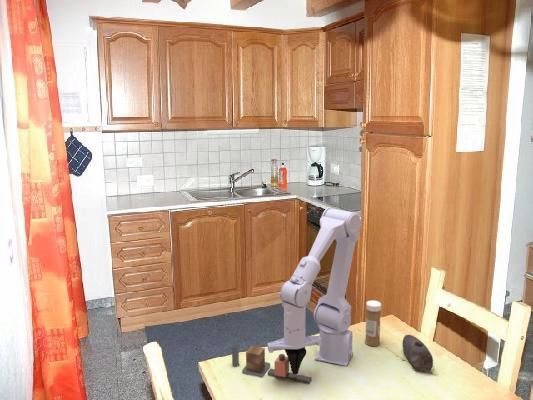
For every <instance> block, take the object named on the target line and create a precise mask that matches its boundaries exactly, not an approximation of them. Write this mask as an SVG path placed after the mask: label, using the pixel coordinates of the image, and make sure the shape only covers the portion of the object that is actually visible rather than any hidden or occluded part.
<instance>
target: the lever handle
mask: <svg viewBox="0 0 533 400" xmlns="http://www.w3.org/2000/svg"><path fill="white" fill-rule="evenodd" d="M285 355H286V354H284V353H280V354H278V356H277V358H275V360H274V369H275V375H277V376H281V377H285V376H286V375H287V373H288V372H290V362H289V359H288V356H285Z"/></svg>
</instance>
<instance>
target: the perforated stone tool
mask: <svg viewBox="0 0 533 400" xmlns="http://www.w3.org/2000/svg"><path fill="white" fill-rule="evenodd" d="M402 349H403V352H404V354H405V356H406V358H407V359H408V361H409V363H410V365H411V366H413V367H414V368H415V369H416V370H417V371H424V372H425V371H426V372H428V371H431V370H432V368H433V365H434V357H433V355H432V353H431V351H430V350H429V348H428V347H427V346H426V345H425V344H424V342H422V341H421V340H420V339H419V338H417V337H415V336H414V335H413V334H406V335H405V336H404V337H403V339H402Z"/></svg>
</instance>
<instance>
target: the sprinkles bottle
mask: <svg viewBox="0 0 533 400" xmlns="http://www.w3.org/2000/svg"><path fill="white" fill-rule="evenodd" d="M365 309H366V310H365V311H366V313H365V314H366V316H365V340H364V342H365V344H366V345H367V346H370V347H377V346H379V345H380V343H381V340H380V337H381V336H380V335H381V312H382V303H381V302H380V301H377V300H368V301H367V302H366V303H365Z"/></svg>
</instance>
